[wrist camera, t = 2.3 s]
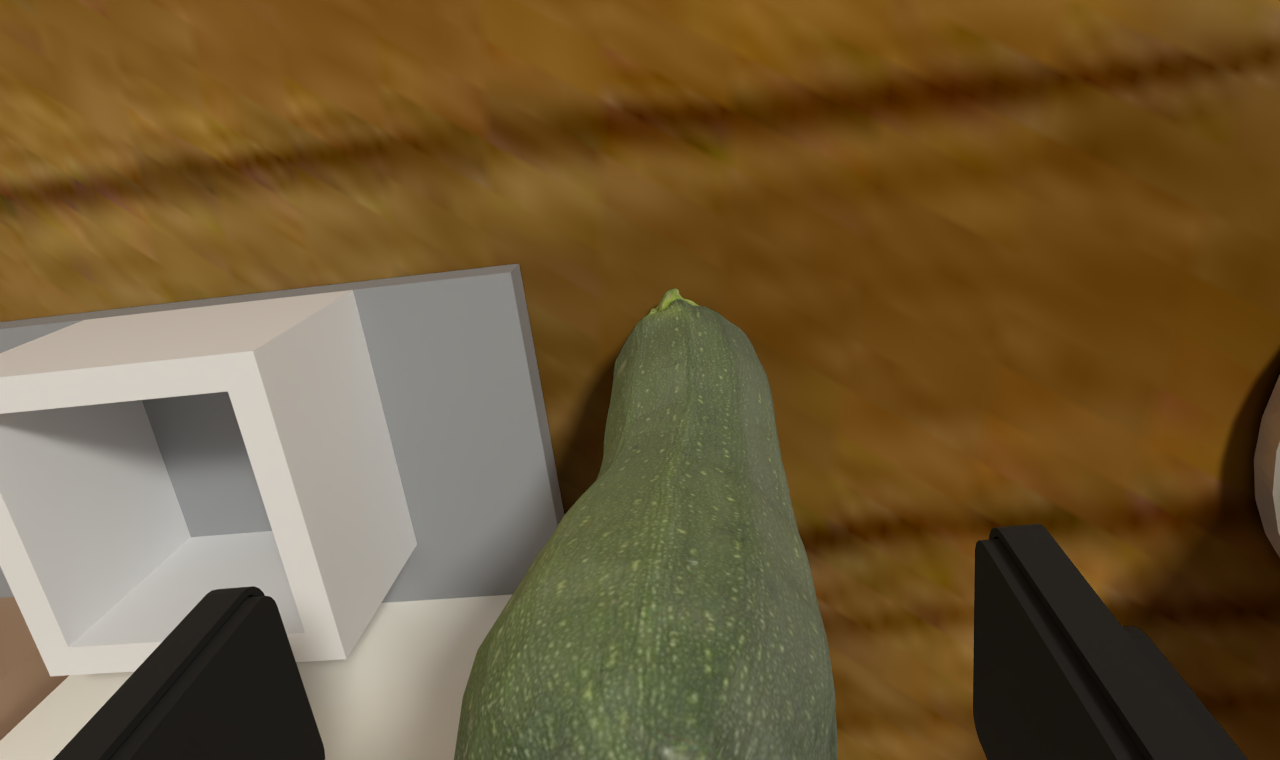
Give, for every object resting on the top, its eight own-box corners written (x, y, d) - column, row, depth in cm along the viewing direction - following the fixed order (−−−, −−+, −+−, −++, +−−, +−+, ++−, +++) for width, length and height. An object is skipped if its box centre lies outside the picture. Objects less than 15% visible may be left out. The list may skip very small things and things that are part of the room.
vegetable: (797, 360, 22) (1306, 1950, 3) (681, 459, 23) (583, 2004, 5) (683, 242, 21) (508, 1502, 2) (568, 352, 22) (-108, 1726, 4)
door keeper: (519, 263, 22) (280, 505, 10) (586, 639, 26) (479, 1144, 14) (-87, 331, 24) (-915, 602, 12) (64, 669, 28) (-434, 1132, 16)
